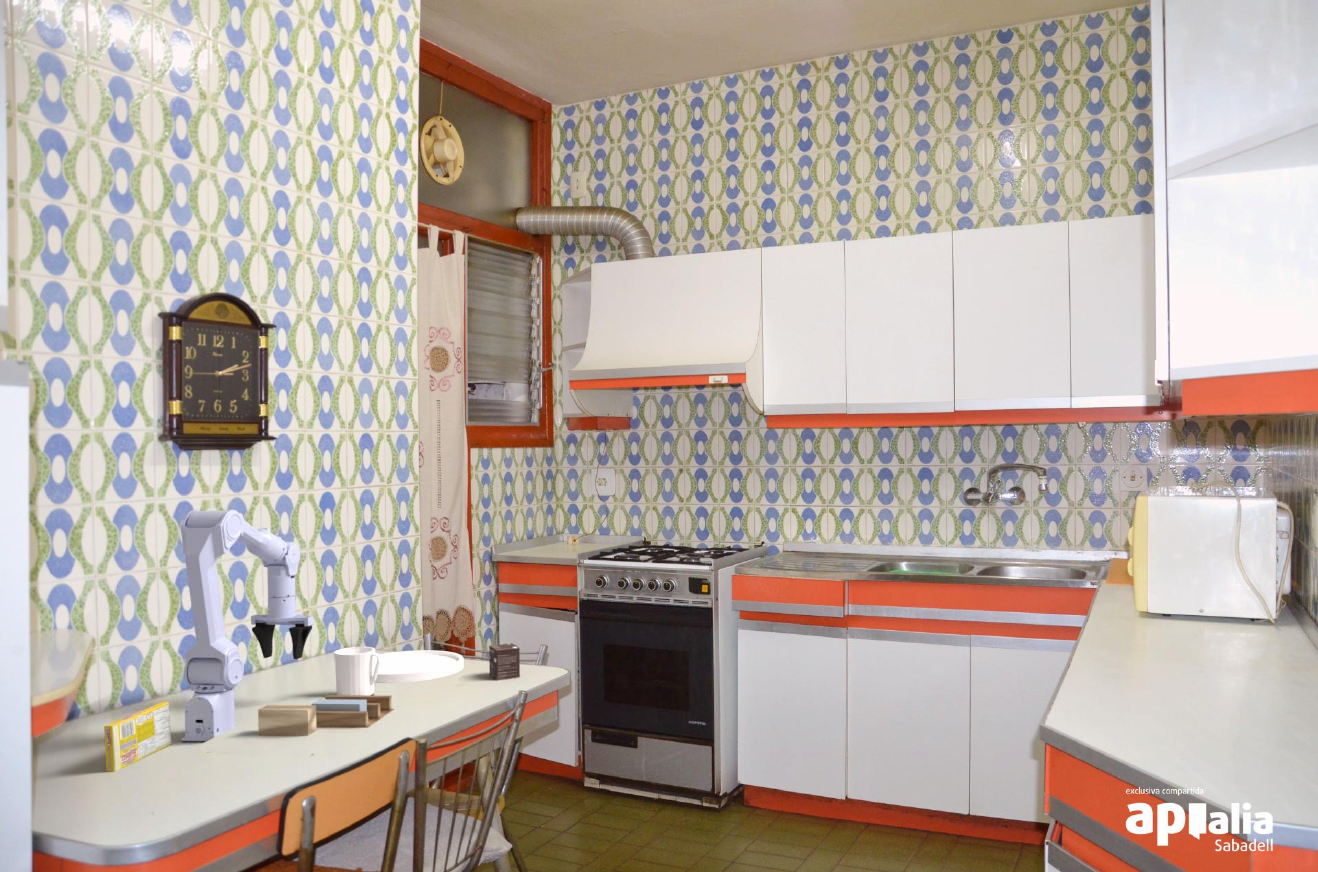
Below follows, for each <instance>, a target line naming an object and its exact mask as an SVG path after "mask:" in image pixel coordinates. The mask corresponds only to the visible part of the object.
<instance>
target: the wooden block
mask: <svg viewBox="0 0 1318 872" xmlns="http://www.w3.org/2000/svg"><path fill="white" fill-rule="evenodd" d="M257 715H258V717H257V719H258V720H257V721H258V722H257V723H258V724H257V725H258V736H292V737H293V736H296V737H297V736H299V737H300V736H305V737H306V736H307V737H308V736H310V735H311V734H313V733H315V732H317V727H316V705H312V704H311V705H308V704H307V705H306V704H305V705H304V704H303V705H301V704H300V705H299V704H294V705H293V704H291V705H290V704H266V705H265V706H263V707H260V708H258V711H257Z"/></svg>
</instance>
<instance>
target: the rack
mask: <svg viewBox="0 0 1318 872" xmlns="http://www.w3.org/2000/svg"><path fill="white" fill-rule="evenodd" d="M324 699H342V700H367V711H316V728H345V729H346V728H349V729H352V728H353V729H354V728H358V729H359V728H363V729H365V728H366V729H368V728H369V727H371V726H372V725H374V724H375V723H377V722H378V721H380V720H381V719H382V718H384V717H385V716H387V715H388V714H389V713H391V712H392V711H394V710H395V708H393V706H392V705H393V704H392V703H393V702H392V701H393V700H392V695H373V696H371V695H337V694H335V695H334V694H330V695H329V694H328V695H325V696H324Z"/></svg>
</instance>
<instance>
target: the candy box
mask: <svg viewBox="0 0 1318 872" xmlns="http://www.w3.org/2000/svg"><path fill="white" fill-rule="evenodd" d="M170 716H171V715H170V701H162V702H161V701H160V702H159V703H156V704H154V705H152V706H148V707H147V708H145V709H141V710H139V711H137V712H135V713H132V714H130V715H128V716H125V717H123V718H121V719H119V720H116V721H114V722H111V723H109V724H107V725H104V726H103V729H104V749H105V752H104V753H105V770H106V772H111V773H112V772H117V771H119V770H122V769H123V768H126V767H128V766H130V765H131V764H133V763H136V762H138V761H140V760H142V759H144V758H146V757H148V756H150V755H152V754H155V753H156V752H158V751H161V750H162V749H165V748H167V747H169V746H171V745H172V734H171V733H172V732H171V717H170Z"/></svg>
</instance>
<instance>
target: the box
mask: <svg viewBox="0 0 1318 872" xmlns="http://www.w3.org/2000/svg"><path fill="white" fill-rule="evenodd" d="M488 648H489V651H488V657H489V660H488V661H489V676H490V677H491V678H492V679H494V680H495V681H503V680H508V679H509V680H510V679H519V678H521V674H520V673H521V670H520V669H521V664H520V663H521V661H520V660H521V659H520V654H521V653H520V647H519V646H517V644H513V643H512V642H510V643H502V644H492V645H488Z"/></svg>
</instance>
